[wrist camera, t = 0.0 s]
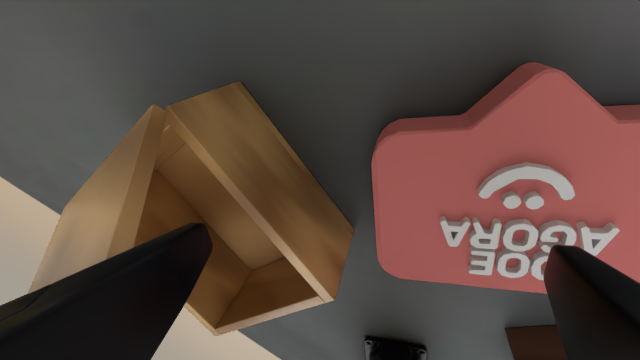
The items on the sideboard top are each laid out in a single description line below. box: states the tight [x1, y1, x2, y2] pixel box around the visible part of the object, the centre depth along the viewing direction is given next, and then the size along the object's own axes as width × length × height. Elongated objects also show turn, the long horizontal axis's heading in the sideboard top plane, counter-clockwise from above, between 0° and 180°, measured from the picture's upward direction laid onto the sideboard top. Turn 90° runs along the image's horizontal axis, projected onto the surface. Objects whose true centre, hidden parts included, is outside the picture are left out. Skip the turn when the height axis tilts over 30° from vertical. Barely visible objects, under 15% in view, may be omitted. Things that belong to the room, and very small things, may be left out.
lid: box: [28, 104, 168, 294], centre depth 14 cm, size 16×14×1 cm
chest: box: [134, 81, 354, 336], centre depth 24 cm, size 16×14×8 cm
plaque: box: [371, 62, 640, 294], centre depth 18 cm, size 18×4×15 cm
